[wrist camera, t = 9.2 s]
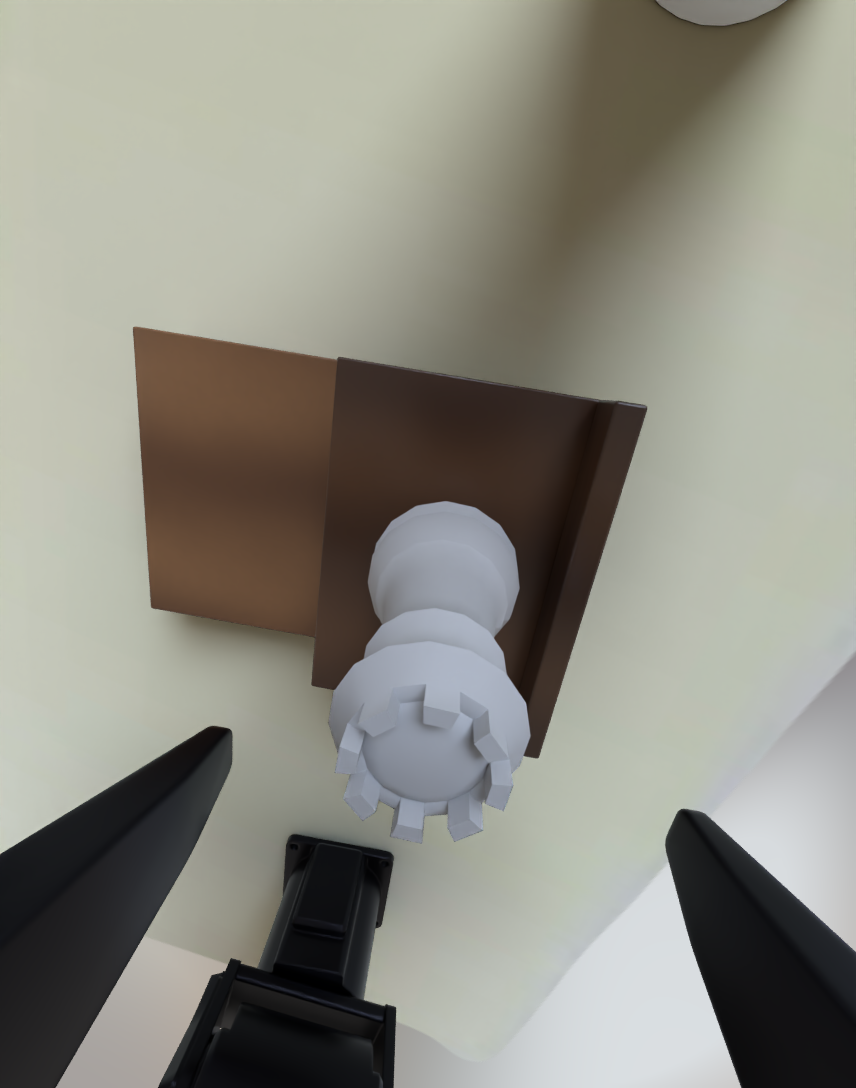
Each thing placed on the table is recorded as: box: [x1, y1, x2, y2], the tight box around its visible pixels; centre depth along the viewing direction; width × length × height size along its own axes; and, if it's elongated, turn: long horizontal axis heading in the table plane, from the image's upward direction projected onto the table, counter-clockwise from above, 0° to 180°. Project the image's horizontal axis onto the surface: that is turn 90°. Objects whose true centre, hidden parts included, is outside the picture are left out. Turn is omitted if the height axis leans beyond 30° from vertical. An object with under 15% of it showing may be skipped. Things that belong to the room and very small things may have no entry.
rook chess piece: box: [328, 501, 531, 844], centre depth 10 cm, size 4×4×8 cm
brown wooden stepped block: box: [133, 327, 647, 758], centre depth 16 cm, size 11×16×8 cm
